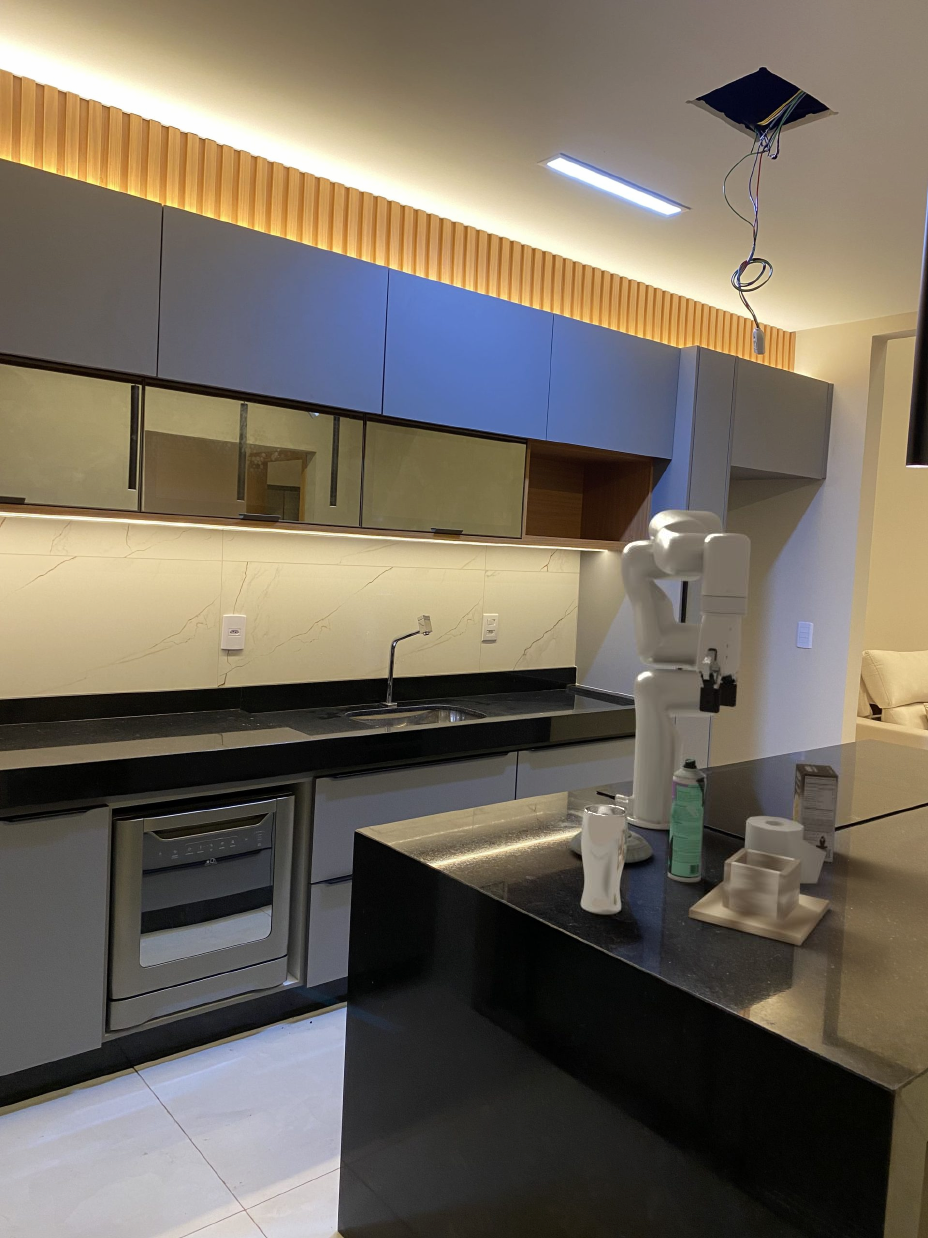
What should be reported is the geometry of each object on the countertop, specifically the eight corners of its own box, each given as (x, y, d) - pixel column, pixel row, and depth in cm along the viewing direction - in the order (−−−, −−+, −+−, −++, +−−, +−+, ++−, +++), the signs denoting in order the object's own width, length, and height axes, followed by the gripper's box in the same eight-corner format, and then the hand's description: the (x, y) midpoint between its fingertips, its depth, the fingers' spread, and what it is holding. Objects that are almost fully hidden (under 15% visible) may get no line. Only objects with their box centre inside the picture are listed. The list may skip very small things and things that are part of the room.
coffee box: (789, 844, 173) (794, 762, 172) (824, 848, 172) (830, 765, 171) (797, 859, 164) (802, 772, 163) (834, 863, 163) (840, 775, 162)
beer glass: (613, 919, 132) (618, 819, 131) (570, 908, 135) (574, 810, 134) (630, 905, 138) (636, 809, 137) (589, 895, 141) (593, 801, 140)
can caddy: (688, 917, 134) (691, 864, 133) (727, 884, 149) (729, 837, 148) (799, 945, 125) (803, 889, 125) (828, 908, 140) (832, 858, 139)
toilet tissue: (828, 886, 150) (831, 836, 150) (745, 877, 153) (748, 827, 153) (819, 869, 159) (822, 821, 159) (741, 861, 162) (744, 814, 162)
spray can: (705, 876, 153) (711, 759, 152) (694, 885, 148) (701, 765, 147) (673, 869, 156) (680, 755, 155) (662, 877, 151) (669, 760, 150)
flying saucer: (667, 857, 163) (669, 827, 163) (622, 875, 152) (624, 843, 152) (599, 837, 173) (600, 809, 173) (551, 853, 162) (553, 823, 162)
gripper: (716, 605, 159) (711, 701, 160) (685, 606, 145) (679, 712, 146) (759, 608, 156) (753, 706, 156) (731, 609, 141) (725, 717, 142)
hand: (717, 709), depth 151 cm, fingers open, 9 cm apart
